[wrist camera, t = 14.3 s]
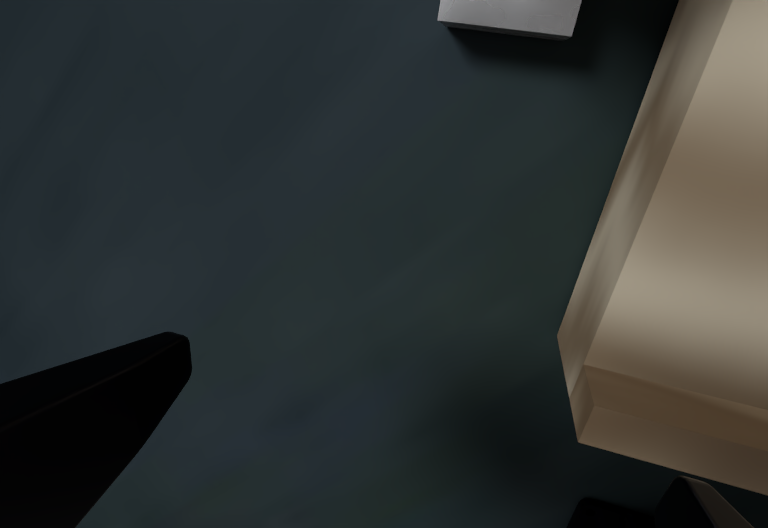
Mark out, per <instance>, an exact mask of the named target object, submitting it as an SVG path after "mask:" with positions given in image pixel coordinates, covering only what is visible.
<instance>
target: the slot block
mask: <svg viewBox="0 0 768 528" xmlns="http://www.w3.org/2000/svg"><path fill="white" fill-rule="evenodd" d="M557 338H558V343H559V348H560V353H561V359H562V364H563V369H564V374H565V379H566V384H567V389H568V394H569V399H570V404H571V409H572V414H573V420H574V425H575V430H576V435H577V440H578V442H579V443H582V444H586V445H589V446H593V447H597V448H600V449H604V450H607V451H611V452H614V453H618V454H622V455H625V456H629V457H632V458H636V459H639V460H643V461H647V462H650V463H654V464H657V465H661V466H664V467H668V468H672V469H675V470H679V471H682V472H686V473H689V474H693V475H697V476H700V477H704V478H707V479H711V480H714V481H718V482H722V483H725V484H729V485H732V486H736V487H739V488H743V489H747V490H750V491H754V492H757V493H761V494H764V495H768V0H679V2H678V4H677V7H676V10H675V13H674V15H673V18H672V21H671V24H670V26H669V29H668V32H667V35H666V37H665V40H664V43H663V46H662V48H661V51H660V54H659V57H658V59H657V62H656V65H655V68H654V70H653V73H652V76H651V79H650V82H649V84H648V87H647V90H646V93H645V95H644V98H643V101H642V104H641V106H640V109H639V112H638V115H637V117H636V120H635V123H634V126H633V128H632V131H631V134H630V137H629V139H628V142H627V145H626V148H625V150H624V153H623V156H622V159H621V161H620V164H619V167H618V170H617V172H616V175H615V178H614V181H613V183H612V186H611V189H610V192H609V194H608V197H607V200H606V203H605V205H604V208H603V211H602V214H601V216H600V219H599V222H598V225H597V227H596V230H595V233H594V236H593V238H592V241H591V244H590V247H589V249H588V252H587V255H586V258H585V260H584V263H583V266H582V269H581V271H580V274H579V277H578V280H577V282H576V285H575V288H574V291H573V293H572V296H571V299H570V302H569V304H568V307H567V310H566V313H565V315H564V318H563V321H562V324H561V326H560V329H559V332H558V335H557Z"/></svg>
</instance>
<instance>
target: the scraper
mask: <svg viewBox="0 0 768 528" xmlns="http://www.w3.org/2000/svg"><path fill="white" fill-rule="evenodd" d="M581 2H582V0H441V1H440V8H439V14H438V21H439V22H440V23H442V24H443V25H444V26H445V27H453V28H461V29H469V30H477V31H486V32H494V33H502V34H510V35H518V36H527V37H535V38H543V39H551V40H559V41H564V40H566V39H568V38H570V37H572V34H573V30H574V26H575V23H576V19H577V16H578V12H579V9H580V5H581Z"/></svg>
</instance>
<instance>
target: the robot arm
mask: <svg viewBox="0 0 768 528" xmlns="http://www.w3.org/2000/svg"><path fill="white" fill-rule="evenodd" d="M191 372H192V362H191V352H190V343H189V340H188V338H187V337H186V336H184V335H180V334H177V333H173V332H164V333H160V334H157V335H154V336H151V337H148V338H145V339H141V340H138V341H135V342H132V343H129V344H126V345H122V346H119V347H116V348H113V349H110V350H107V351H103V352H100V353H97V354H94V355H91V356H88V357H84V358H81V359H78V360H75V361H72V362H69V363H65V364H62V365H59V366H56V367H53V368H50V369H46V370H43V371H40V372H37V373H34V374H31V375H27V376H24V377H21V378H18V379H15V380H12V381H8V382H5V383H2V384H0V528H75V527H76V526H77V525H78V524H79V523H80V521H81V520H82V519H83V518H84V517H85V515H86V514H87V513H88V512H89V511H90V509H91V508H92V507H93V506H94V505H95V503H96V502H97V501H98V500H99V499H100V497H101V496H102V495H103V494H104V493H105V491H106V490H107V489H108V488H109V487H110V485H111V484H112V483H113V482H114V481H115V479H116V478H117V477H118V476H119V475H120V473H121V472H122V471H123V470H124V469H125V467H126V466H127V465H128V464H129V463H130V461H131V460H132V459H133V458H134V457H135V455H136V454H137V453H138V452H139V450H140V449H141V448H142V447H143V445H144V444H145V442H146V441H147V440H148V438H149V437H150V436H151V434H152V433H153V431H154V430H155V428H156V427H157V425H158V424H159V423H160V421H161V420H162V418H163V417H164V415H165V414H166V412H167V411H168V409H169V408H170V407H171V405H172V404H173V402H174V401H175V399H176V398H177V396H178V395H179V393H180V392H181V391H182V389H183V388H184V386H185V385H186V383H187V382H188V380H189V378H190V376H191ZM567 528H754V527H753V526H752V525H751V524H750V523H749V522H747V521H746V520H745V519H744V518H743V517H742V516H741V515H740V514H739V513H738V512H737V511H736V510H735V509H734V508H733V507H732V506H731V505H730V504H729V503H728V502H727V501H726V500H725V499H724V498H723V497H722V496H721V495H720V494H719V493H718V492H717V491H716V490H715V489H714V488H713V487H712V486H711V485H709V484H708V483H706V482H703V481H700V480H697V479H693V478H689V477H686V476H677V477H676V478H674V480H673V481H672V482H671V484H670V486H669V487H668V489H667V491H666V492H665V494H664V495H663V497H662V499H661V500H660V502H659V503H658V505H657V507H656V511H655V518H653V517H650V516H646V515H643V514H640V513H636V512H633V511H630V510H626V509H623V508H620V507H616V506H613V505H610V504H606V503H603V502H600V501H597V500H593V499H583V500H581V501H580V502H579V503H578V505H577V507H576V510H575V512H574V514H573V516H572V518H571V520H570V522H569V524H568V526H567Z"/></svg>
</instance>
